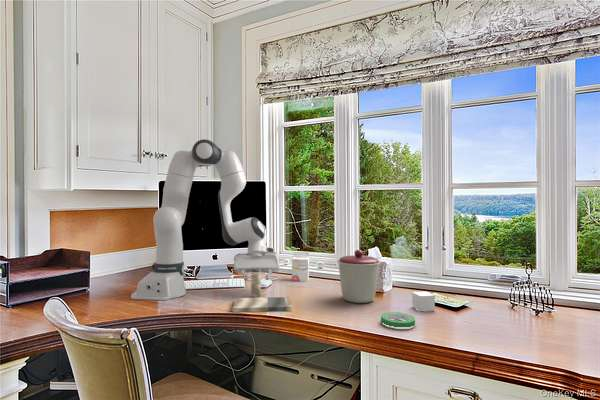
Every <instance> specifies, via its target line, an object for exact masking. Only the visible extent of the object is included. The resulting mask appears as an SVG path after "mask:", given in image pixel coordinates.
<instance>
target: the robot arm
mask: <svg viewBox="0 0 600 400" xmlns="http://www.w3.org/2000/svg"><path fill="white" fill-rule="evenodd" d="M210 166H213V167H214V168H216V171H217V172H218V175H219V179H220V183H221V184H220V189H219V191H218V192H217V199H218V208H219V209H218V210H219V214H220V220H221V228H222V229H221V230H222V231H221V232H222V239H223V241H224V242H225V243H226V244H228V245H230V246H236V245H238V244H241V243H244V242H246V241H247V242H248V245H247V253H237V254H235V255H234V257H233V261H234V264H233V271H234V272H235V273H237V274H238V273H241V275H242V277H243V281H248V274H246V273H252V269H253V268H260V269H261V273H268V274H265V281H266V280H267V281H270V277H271V275H272V274H273V273H278V272H279V271H280V268H281V267H280V259H279V256H278V255H277V250H276V248H274V247H269V246H267V242H268V237H267V236H268V235H267V230H266V226H265V225H264V223H263V222H262V221H261V220H259V219H258V218H257V217H254V216H252V217H248V218H245V219H241V220H239V221H235V222H233V218H232V211H231V202H232V200H234V198H235V197H237V196H238V195H239V194H241V192H243V190H244V189H245V187H246V184H247V179H246V174H245V172H244V168H243V165H242V163H241V161H240V158H239V157H238V155H237V154H236V152H235V151H233V150H223V151H222V149H221V148H219V147H218V146H217V145H216V143H214V142H213V141H212V140H210V139H200V140H198V141H196V142H195V143H194V144H193V146H192V149H191V150H190V151H187V150H178V151H176V152H175V153H173V156H172V159H171V160H170V163H169V166H168V169H167V173H166V178H165V181H164V186H163V189H162V192H163V193H162V201H161V207H159V208H158V209H157V210H156V211H155V213H154V215H153V218H152V219H153V220H152V222H153V229H154V238H155V246H156V247H155V251H156V253H155V254H156V255H155V260H156V261H155V262H154V263H152V265H150V270H151V271H150V272H149V273H148V274H147V275H146V276H144V277H142V279H140V281H139V282H138V283H137V287H136V291H134V292H132V293H131V295H130V299H131V300H145V301H146V300H150V301H153V300H154V301H168V300H171V299H175V298H180V297H183V296H185V295H186V294H187V290H186V286H185V279H184V275H185V274H184V273H185V261H184V243H183V233H182V226H183V225H184V223H185V220H186V215H187V212H188V211H187V209H188V204H189V198H190V193H191V188H192V186H193V185H192V184H193V179H194V176H195V173H196V170H197V168H198V167H199V168H200V167H210Z"/></svg>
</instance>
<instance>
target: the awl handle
mask: <svg viewBox="0 0 600 400" xmlns="http://www.w3.org/2000/svg"><path fill="white" fill-rule="evenodd" d="M261 289H262V272H261V269H260V268H253V269H252V272H251V291H250V292H251V297H250V298H262V296H261V295H262V290H261Z"/></svg>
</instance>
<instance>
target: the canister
mask: <svg viewBox="0 0 600 400" xmlns="http://www.w3.org/2000/svg"><path fill="white" fill-rule="evenodd" d="M336 262H337V263H338V271H339V280H340V287H341V295H342V297H343V299H344V300H345V301H347V302H350V303H356V304H367V303H370V302H373V300H374V299H375V297H376V293H377V287H378V285H377V284H378V278H379V269H380V265H381V261H380V260H379V259H378V258H376V257H374V256H369V255H368V256H367V255H364V252H363V250H361V249H356V250H355V251H354V254H353V255H345V256H344V255H343V256H342V257H340V258H339V259H337V260H336Z"/></svg>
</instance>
